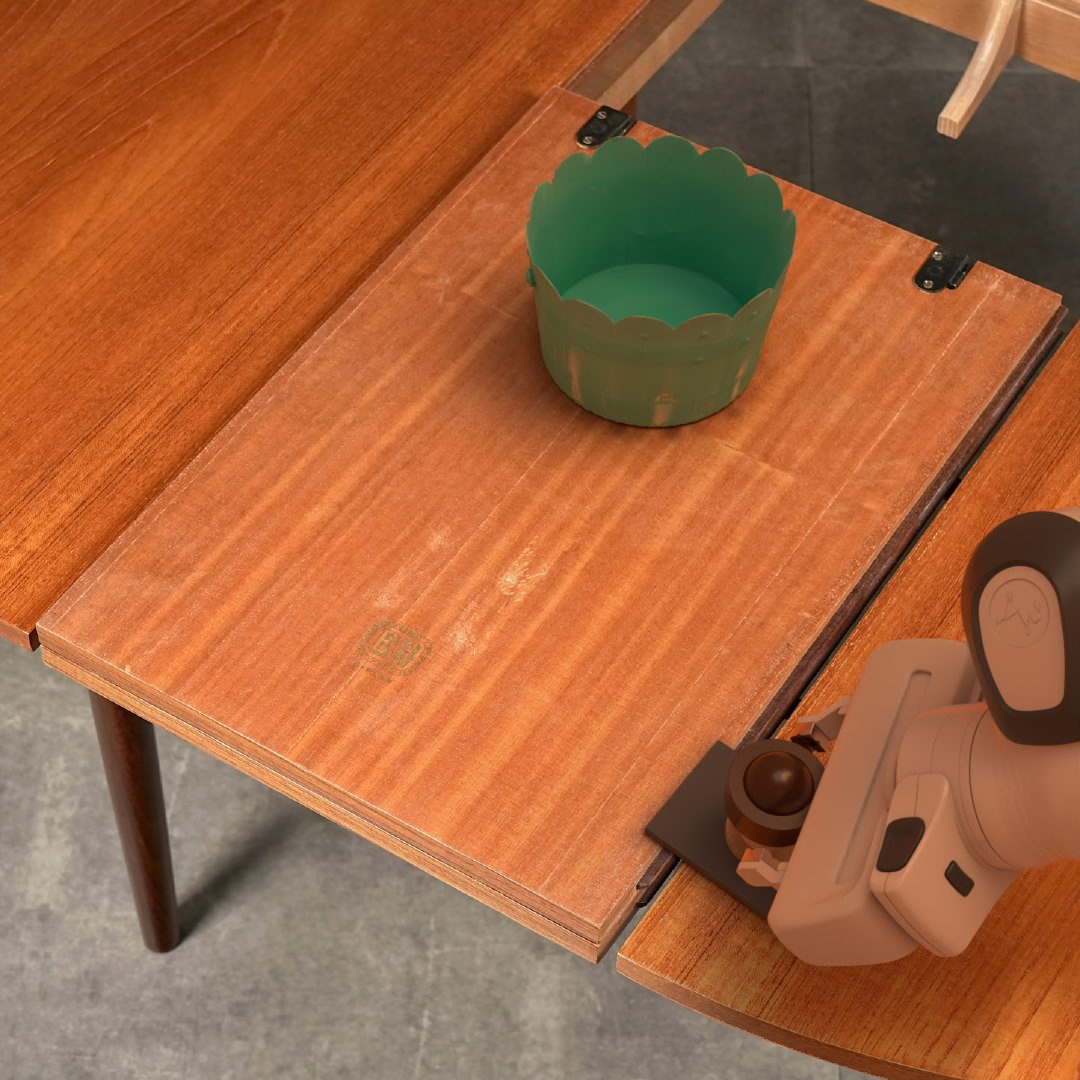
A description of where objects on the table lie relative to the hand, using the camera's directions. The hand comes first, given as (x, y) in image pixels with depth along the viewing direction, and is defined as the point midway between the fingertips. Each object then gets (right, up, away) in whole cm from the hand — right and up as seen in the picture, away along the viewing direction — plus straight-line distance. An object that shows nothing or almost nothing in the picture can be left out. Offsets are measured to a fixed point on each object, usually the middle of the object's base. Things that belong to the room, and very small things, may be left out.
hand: (773, 800), depth 100 cm
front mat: (0, -4, +6) cm, 7 cm away
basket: (-6, +30, +30) cm, 43 cm away
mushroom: (0, -3, +5) cm, 6 cm away
